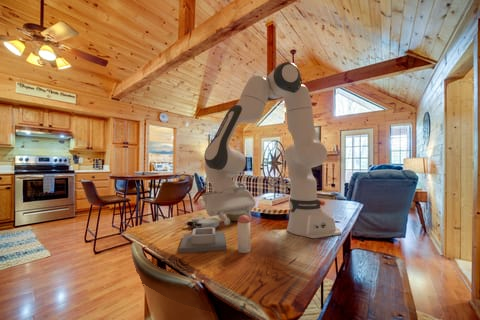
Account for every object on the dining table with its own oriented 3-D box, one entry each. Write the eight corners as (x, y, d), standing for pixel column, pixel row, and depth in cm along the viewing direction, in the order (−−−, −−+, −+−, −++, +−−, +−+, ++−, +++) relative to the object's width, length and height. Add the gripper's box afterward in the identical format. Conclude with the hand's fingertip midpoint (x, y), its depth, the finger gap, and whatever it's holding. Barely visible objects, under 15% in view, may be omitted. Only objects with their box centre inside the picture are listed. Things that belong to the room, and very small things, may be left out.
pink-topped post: (249, 247, 75) (249, 213, 75) (251, 252, 71) (251, 216, 71) (236, 248, 74) (236, 213, 74) (238, 253, 70) (238, 217, 70)
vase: (224, 223, 103) (224, 184, 103) (225, 217, 114) (225, 182, 114) (246, 223, 103) (245, 184, 103) (245, 217, 114) (245, 182, 114)
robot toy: (182, 230, 96) (203, 235, 87) (182, 220, 97) (203, 224, 87) (203, 223, 106) (224, 227, 96) (203, 214, 106) (224, 217, 96)
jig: (224, 235, 87) (224, 224, 87) (226, 250, 73) (226, 237, 73) (184, 237, 85) (184, 226, 85) (179, 252, 71) (179, 239, 71)
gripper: (203, 187, 75) (216, 221, 67) (248, 183, 87) (264, 212, 79) (198, 198, 78) (210, 231, 70) (242, 193, 90) (256, 221, 82)
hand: (239, 221), depth 75 cm, fingers open, 8 cm apart
